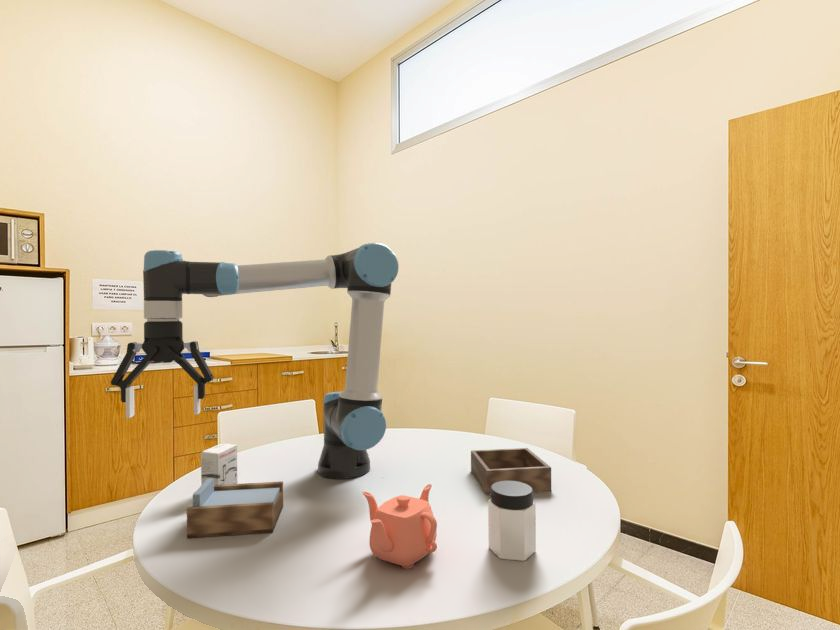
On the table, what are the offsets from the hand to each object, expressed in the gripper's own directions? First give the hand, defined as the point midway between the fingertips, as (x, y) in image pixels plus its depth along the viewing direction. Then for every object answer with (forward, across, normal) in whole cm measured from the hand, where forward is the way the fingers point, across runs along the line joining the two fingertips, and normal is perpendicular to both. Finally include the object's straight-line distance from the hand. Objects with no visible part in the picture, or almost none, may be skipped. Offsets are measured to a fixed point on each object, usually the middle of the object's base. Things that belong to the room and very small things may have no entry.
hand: (164, 415), depth 102 cm
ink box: (+24, -9, -13) cm, 28 cm away
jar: (+24, -70, +31) cm, 80 cm away
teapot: (+24, -48, +26) cm, 60 cm away
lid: (+19, -16, +5) cm, 26 cm away
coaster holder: (+23, -84, -3) cm, 88 cm away
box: (+23, -16, +5) cm, 29 cm away
